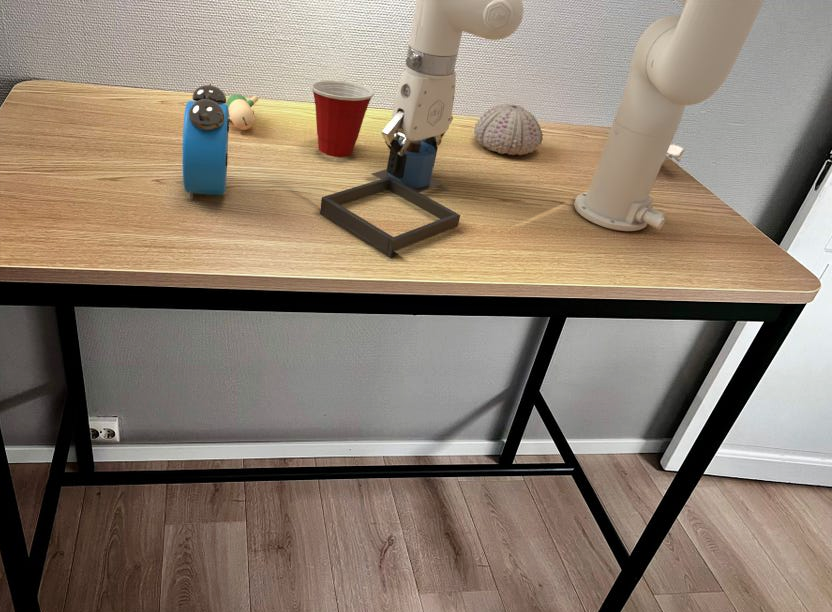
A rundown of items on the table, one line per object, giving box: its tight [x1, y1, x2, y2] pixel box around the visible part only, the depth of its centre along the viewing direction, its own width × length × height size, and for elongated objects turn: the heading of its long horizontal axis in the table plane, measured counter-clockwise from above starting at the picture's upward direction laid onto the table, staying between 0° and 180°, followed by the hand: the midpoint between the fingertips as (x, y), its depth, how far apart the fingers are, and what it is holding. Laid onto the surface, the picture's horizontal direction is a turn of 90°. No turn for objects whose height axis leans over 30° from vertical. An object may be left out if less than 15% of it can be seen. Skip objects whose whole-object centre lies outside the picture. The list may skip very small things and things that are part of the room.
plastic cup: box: [310, 79, 375, 158], centre depth 125 cm, size 11×11×12 cm
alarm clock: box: [182, 83, 230, 200], centre depth 107 cm, size 13×6×15 cm, turn 6°
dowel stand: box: [371, 140, 445, 193], centre depth 121 cm, size 9×9×8 cm
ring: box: [388, 138, 437, 188], centre depth 121 cm, size 7×7×6 cm
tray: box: [319, 177, 461, 258], centre depth 111 cm, size 15×15×3 cm
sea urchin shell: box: [473, 103, 544, 156], centre depth 141 cm, size 13×14×8 cm
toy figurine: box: [225, 93, 259, 131], centre depth 133 cm, size 8×4×12 cm
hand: (410, 169), depth 122 cm, fingers closed on ring, 7 cm apart
